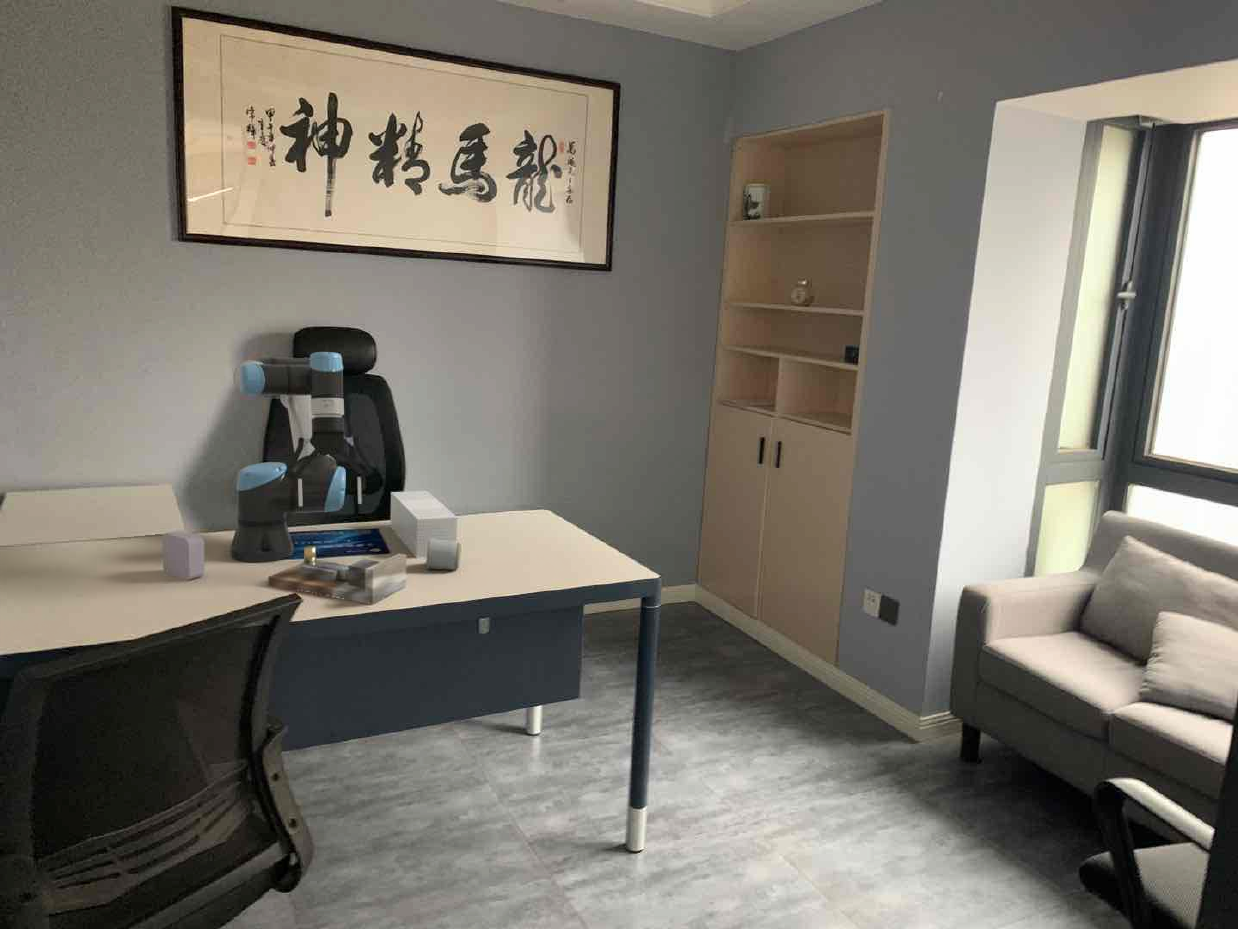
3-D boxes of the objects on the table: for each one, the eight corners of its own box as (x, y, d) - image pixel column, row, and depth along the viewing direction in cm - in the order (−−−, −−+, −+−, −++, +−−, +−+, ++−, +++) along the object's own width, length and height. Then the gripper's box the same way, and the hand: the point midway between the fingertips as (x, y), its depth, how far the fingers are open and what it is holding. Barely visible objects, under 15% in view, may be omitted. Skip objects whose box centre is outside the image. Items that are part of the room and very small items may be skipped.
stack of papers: (390, 527, 269) (391, 492, 267) (426, 525, 274) (427, 490, 272) (416, 558, 241) (417, 519, 239) (455, 556, 246) (457, 517, 244)
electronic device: (207, 577, 215) (206, 536, 214) (189, 581, 211) (188, 540, 210) (181, 568, 220) (180, 528, 218) (163, 572, 216) (162, 532, 214)
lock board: (268, 585, 213) (267, 552, 211) (305, 569, 226) (306, 537, 224) (372, 604, 204) (373, 570, 203) (405, 587, 218) (406, 554, 216)
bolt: (301, 572, 216) (301, 547, 215) (308, 569, 218) (308, 545, 217) (345, 580, 213) (345, 555, 211) (351, 577, 215) (352, 552, 214)
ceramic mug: (458, 573, 230) (459, 544, 229) (425, 572, 229) (426, 542, 228) (461, 561, 241) (462, 533, 239) (430, 560, 240) (430, 532, 238)
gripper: (271, 416, 213) (274, 507, 213) (381, 415, 220) (384, 503, 220) (273, 418, 220) (276, 506, 220) (380, 417, 227) (383, 502, 227)
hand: (330, 505), depth 220 cm, fingers open, 13 cm apart
